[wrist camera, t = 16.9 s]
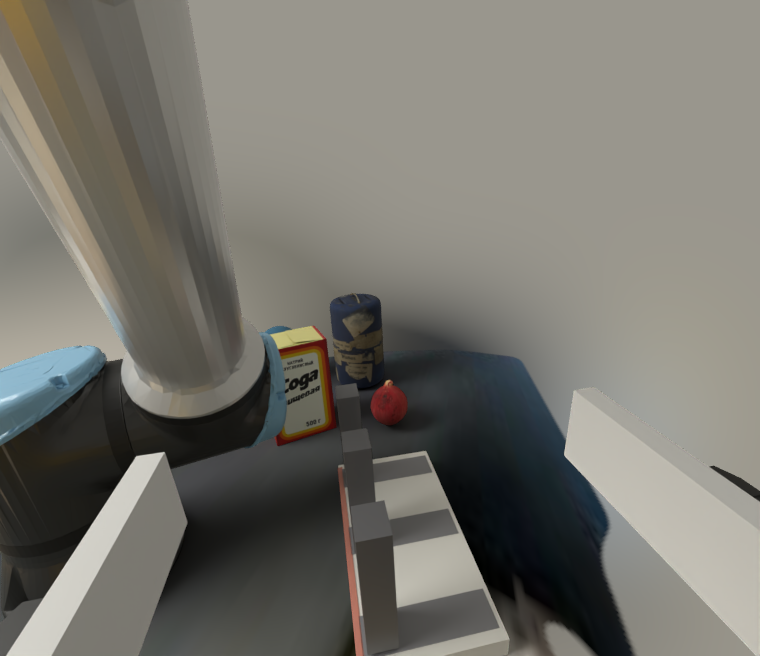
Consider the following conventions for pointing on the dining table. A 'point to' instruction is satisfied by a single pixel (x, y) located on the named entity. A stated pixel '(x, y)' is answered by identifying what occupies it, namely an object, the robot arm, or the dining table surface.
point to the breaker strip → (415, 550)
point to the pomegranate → (389, 404)
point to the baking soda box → (305, 384)
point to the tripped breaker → (376, 575)
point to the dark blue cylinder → (357, 339)
